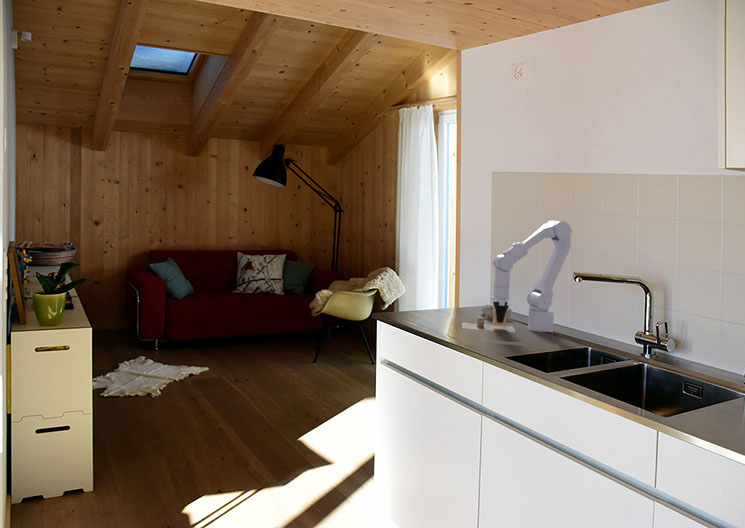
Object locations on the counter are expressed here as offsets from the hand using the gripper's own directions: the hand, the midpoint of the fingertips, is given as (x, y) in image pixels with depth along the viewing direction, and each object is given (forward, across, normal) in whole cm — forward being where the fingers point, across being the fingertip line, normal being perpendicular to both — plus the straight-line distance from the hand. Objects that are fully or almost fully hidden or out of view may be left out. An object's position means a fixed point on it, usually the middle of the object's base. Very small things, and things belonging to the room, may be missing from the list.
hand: (499, 321), depth 247 cm
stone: (+4, -23, 0) cm, 23 cm away
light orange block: (+1, 0, 0) cm, 1 cm away
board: (+4, -2, -4) cm, 6 cm away
